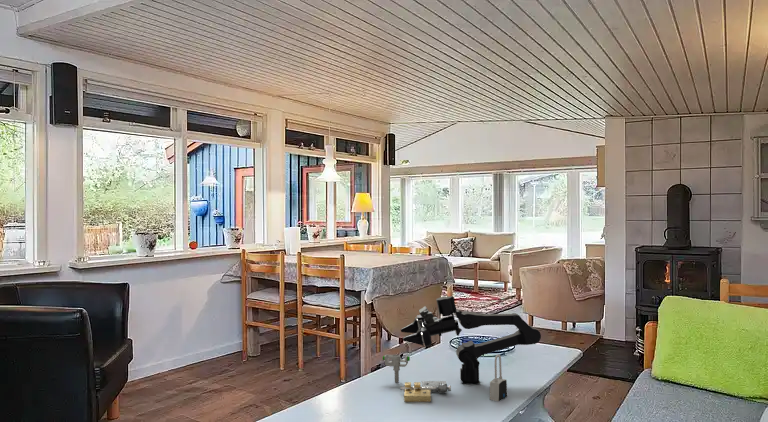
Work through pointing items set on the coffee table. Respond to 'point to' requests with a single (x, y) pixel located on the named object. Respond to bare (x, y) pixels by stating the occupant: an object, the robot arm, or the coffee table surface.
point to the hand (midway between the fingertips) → (401, 335)
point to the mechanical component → (395, 363)
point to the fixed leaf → (432, 386)
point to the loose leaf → (416, 393)
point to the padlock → (498, 384)
